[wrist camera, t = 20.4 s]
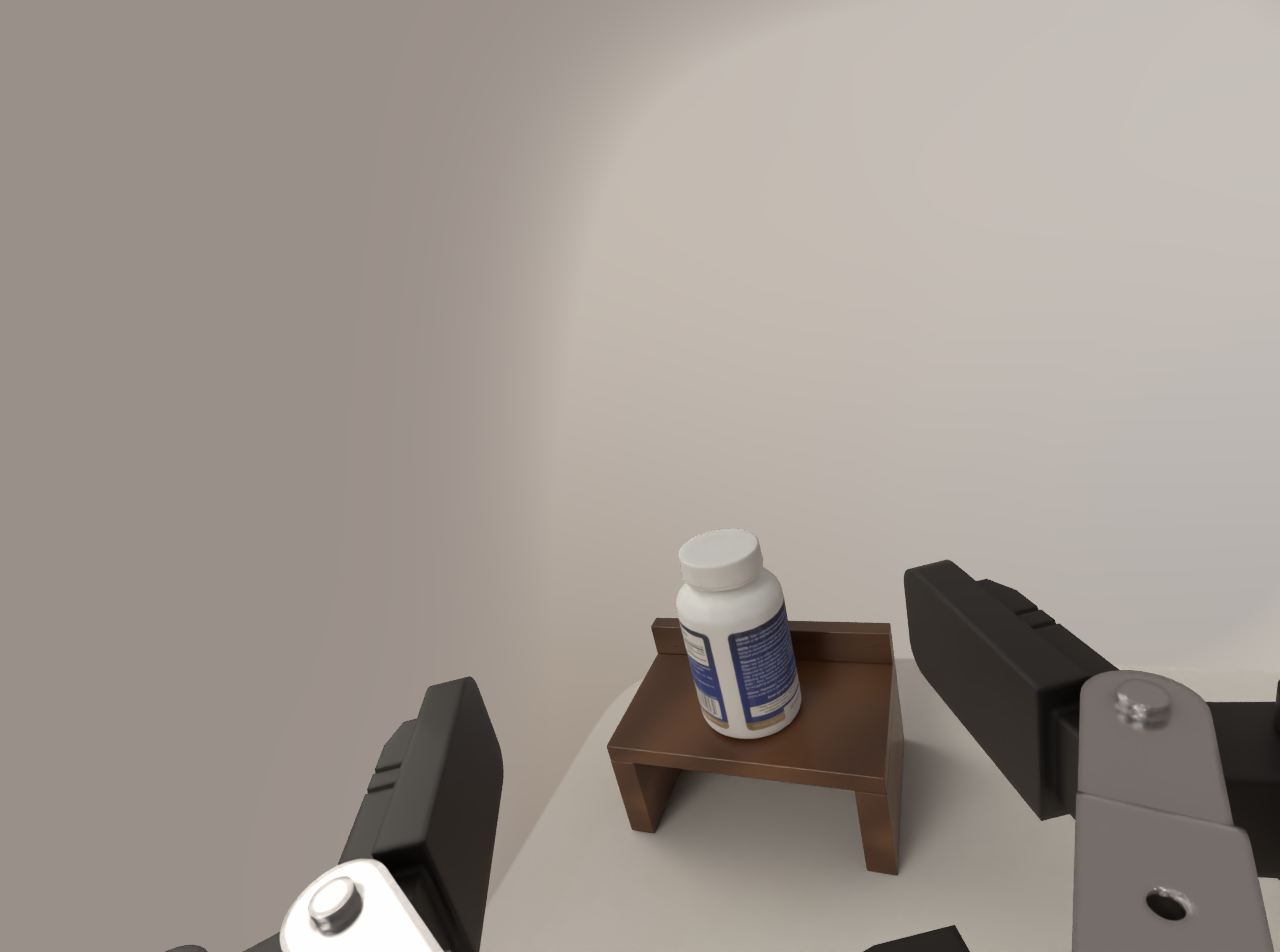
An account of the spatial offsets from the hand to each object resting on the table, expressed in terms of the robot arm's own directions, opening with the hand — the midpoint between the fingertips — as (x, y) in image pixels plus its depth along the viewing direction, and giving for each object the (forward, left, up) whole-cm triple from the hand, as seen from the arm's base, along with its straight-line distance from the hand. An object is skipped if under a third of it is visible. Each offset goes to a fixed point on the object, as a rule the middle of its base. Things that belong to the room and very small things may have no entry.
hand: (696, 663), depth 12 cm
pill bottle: (+9, +17, -17) cm, 26 cm away
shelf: (+10, +17, -23) cm, 30 cm away
